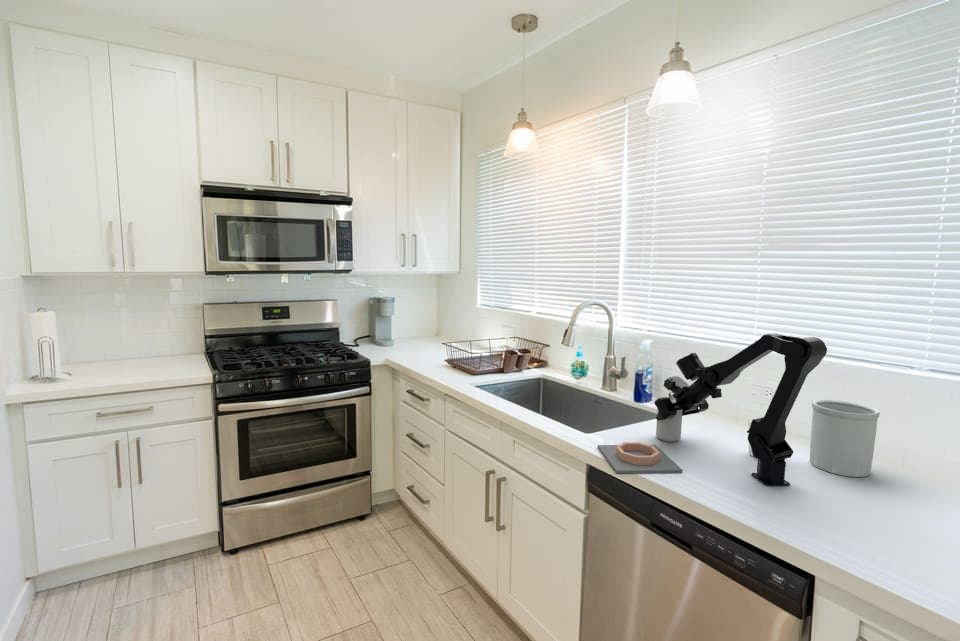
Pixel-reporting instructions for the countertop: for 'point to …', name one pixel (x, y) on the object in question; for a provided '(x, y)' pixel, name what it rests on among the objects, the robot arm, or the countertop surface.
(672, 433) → the can
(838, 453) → the utensil holder
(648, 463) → the seat plate
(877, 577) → the countertop surface
